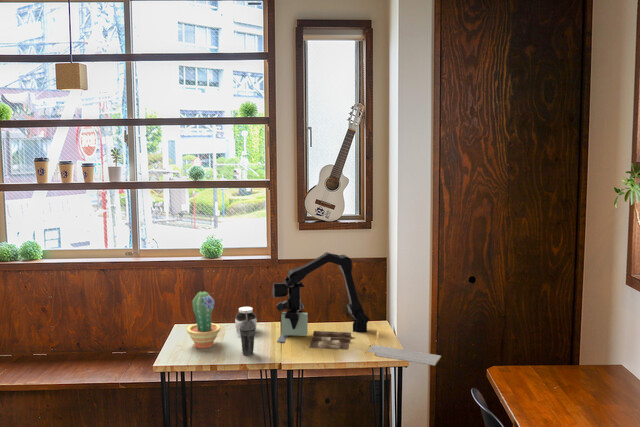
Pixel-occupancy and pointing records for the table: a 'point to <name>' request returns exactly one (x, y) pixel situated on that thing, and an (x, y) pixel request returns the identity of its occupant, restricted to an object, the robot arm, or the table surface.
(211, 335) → the potted cactus
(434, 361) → the baseboard molding
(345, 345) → the board rack
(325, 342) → the offcut stack
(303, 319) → the tall board
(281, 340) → the rubber mat
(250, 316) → the spread jar
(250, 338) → the beverage cup
